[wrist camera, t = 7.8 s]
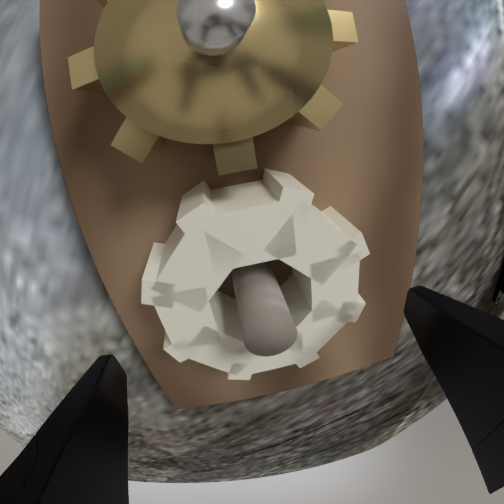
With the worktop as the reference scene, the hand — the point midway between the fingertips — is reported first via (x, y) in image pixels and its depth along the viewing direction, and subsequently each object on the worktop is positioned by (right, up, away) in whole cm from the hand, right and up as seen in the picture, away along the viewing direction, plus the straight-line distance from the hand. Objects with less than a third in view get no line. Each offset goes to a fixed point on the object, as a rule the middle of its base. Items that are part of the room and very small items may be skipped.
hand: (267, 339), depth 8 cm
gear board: (0, +4, +4) cm, 6 cm away
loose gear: (0, +2, +4) cm, 4 cm away
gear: (-2, +9, 0) cm, 9 cm away
